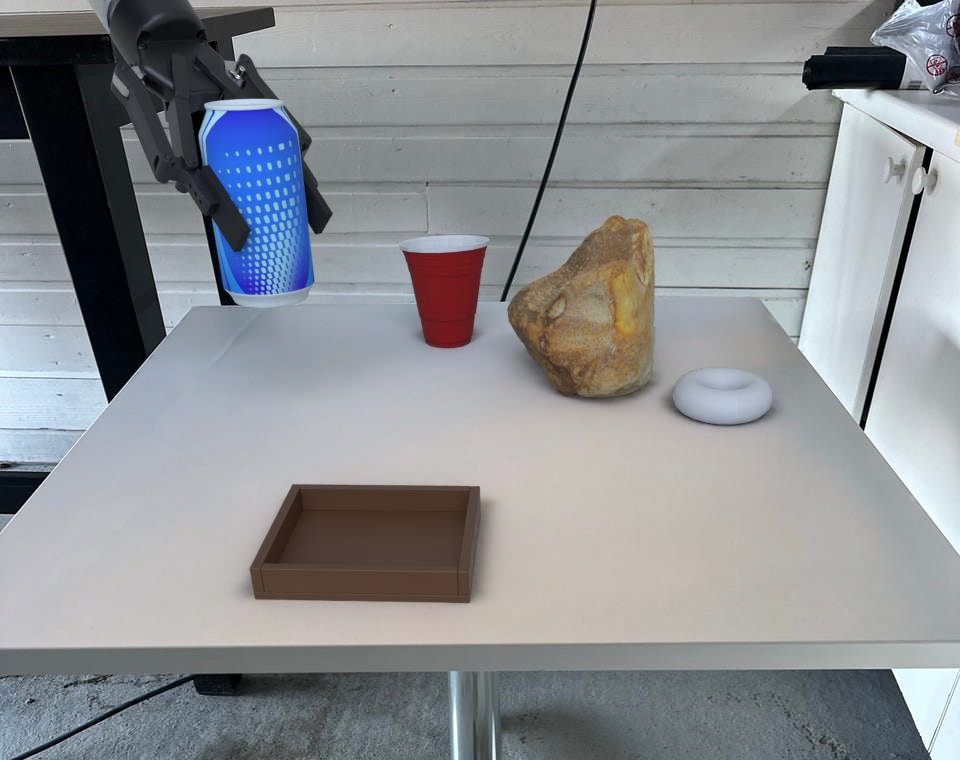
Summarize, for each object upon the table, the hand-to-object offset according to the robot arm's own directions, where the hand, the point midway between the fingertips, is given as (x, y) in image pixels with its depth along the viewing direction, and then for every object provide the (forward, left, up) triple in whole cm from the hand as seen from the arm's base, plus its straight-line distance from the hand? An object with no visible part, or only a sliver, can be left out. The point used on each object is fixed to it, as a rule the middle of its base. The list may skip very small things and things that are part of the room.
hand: (284, 232), depth 82 cm
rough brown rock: (+27, +18, -19) cm, 37 cm away
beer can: (-3, +2, -6) cm, 7 cm away
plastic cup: (+11, +29, -19) cm, 36 cm away
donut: (+41, +6, -19) cm, 46 cm away
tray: (+10, -24, -18) cm, 32 cm away
